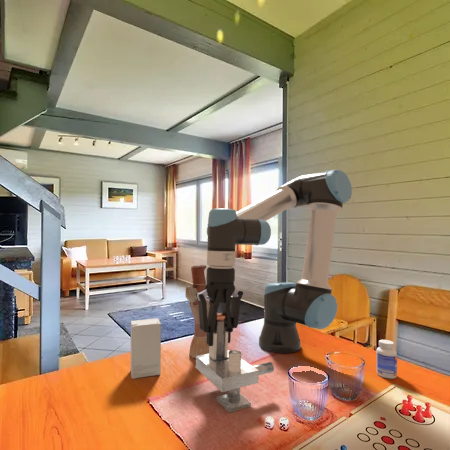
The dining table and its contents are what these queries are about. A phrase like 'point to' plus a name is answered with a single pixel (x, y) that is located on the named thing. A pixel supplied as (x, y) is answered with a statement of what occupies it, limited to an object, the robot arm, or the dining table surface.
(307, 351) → the dining table surface
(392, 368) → the pill bottle
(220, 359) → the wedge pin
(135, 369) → the skincare box
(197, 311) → the tan tall irregular piece
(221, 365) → the square pedestal tray
